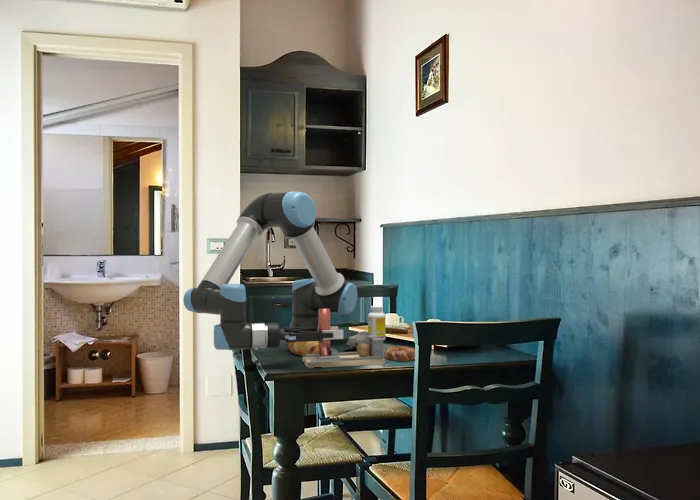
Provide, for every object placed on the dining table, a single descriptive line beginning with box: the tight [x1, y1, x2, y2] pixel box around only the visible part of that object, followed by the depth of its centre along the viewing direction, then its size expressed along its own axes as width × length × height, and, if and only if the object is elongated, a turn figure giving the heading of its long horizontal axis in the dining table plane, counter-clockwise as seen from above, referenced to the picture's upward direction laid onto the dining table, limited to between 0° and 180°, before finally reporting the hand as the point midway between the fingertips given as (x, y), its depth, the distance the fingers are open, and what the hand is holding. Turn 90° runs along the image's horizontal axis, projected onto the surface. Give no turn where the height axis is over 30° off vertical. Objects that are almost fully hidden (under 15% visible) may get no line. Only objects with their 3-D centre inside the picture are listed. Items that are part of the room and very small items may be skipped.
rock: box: [344, 330, 373, 350], centre depth 207 cm, size 13×9×6 cm, turn 135°
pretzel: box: [383, 345, 416, 362], centre depth 194 cm, size 12×11×4 cm
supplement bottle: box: [367, 305, 387, 341], centre depth 228 cm, size 7×7×13 cm
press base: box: [302, 335, 386, 369], centre depth 187 cm, size 10×24×8 cm, turn 104°
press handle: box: [316, 308, 340, 359], centre depth 185 cm, size 7×6×15 cm
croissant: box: [286, 341, 319, 357], centre depth 201 cm, size 21×10×8 cm, turn 42°
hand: (340, 332), depth 186 cm, fingers open, 6 cm apart
